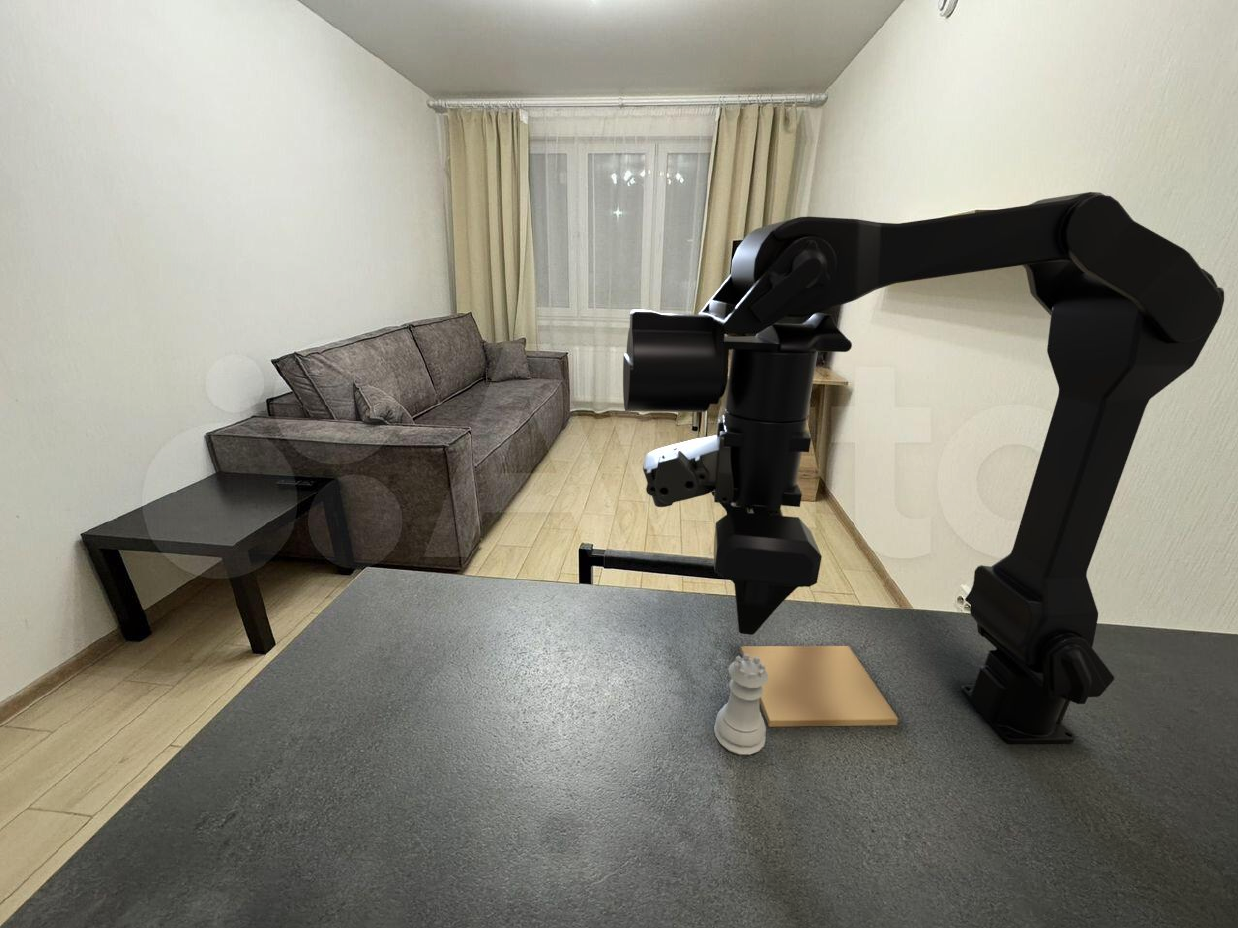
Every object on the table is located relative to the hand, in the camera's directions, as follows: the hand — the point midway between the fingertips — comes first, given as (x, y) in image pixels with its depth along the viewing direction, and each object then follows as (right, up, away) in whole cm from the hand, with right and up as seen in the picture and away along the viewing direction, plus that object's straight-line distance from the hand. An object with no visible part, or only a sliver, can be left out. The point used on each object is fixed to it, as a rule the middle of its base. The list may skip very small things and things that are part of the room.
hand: (741, 597), depth 43 cm
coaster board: (+9, -11, +10) cm, 17 cm away
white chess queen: (+1, -13, +3) cm, 14 cm away
